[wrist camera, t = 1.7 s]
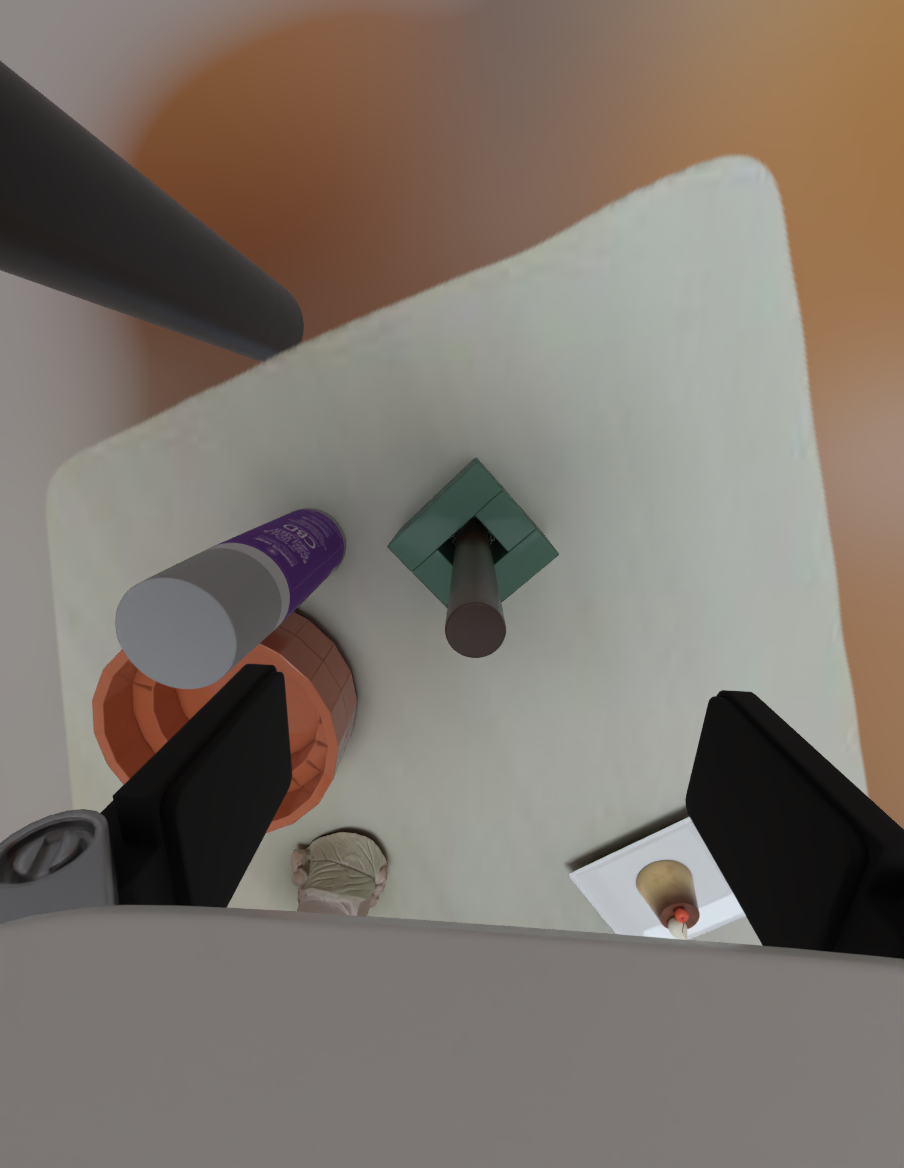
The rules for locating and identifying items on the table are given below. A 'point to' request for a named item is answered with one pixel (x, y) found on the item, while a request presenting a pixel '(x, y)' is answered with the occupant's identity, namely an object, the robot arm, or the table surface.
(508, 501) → the holder
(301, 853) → the figurine
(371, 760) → the table surface
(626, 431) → the table surface
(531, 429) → the table surface
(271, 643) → the bowl
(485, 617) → the stick
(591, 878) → the dessert
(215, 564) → the container
